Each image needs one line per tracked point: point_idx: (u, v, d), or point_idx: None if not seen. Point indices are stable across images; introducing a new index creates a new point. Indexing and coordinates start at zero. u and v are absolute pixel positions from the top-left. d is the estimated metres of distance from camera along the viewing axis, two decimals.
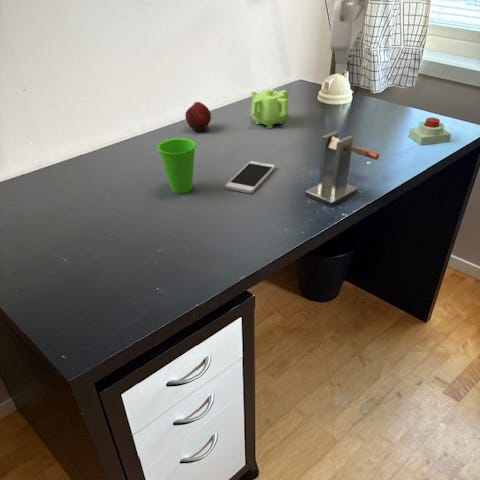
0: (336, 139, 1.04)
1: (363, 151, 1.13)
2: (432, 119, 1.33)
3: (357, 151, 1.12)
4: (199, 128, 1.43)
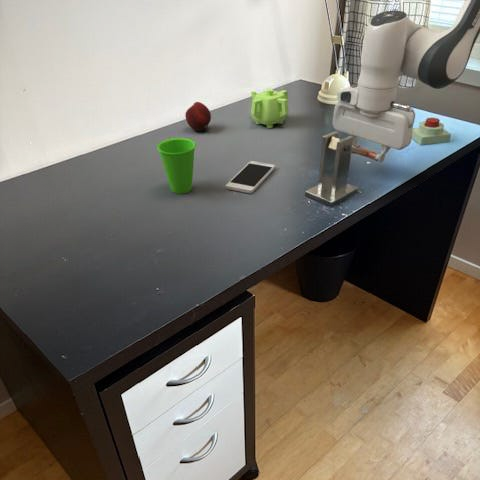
0: (336, 139, 1.04)
1: (363, 151, 1.13)
2: (432, 119, 1.33)
3: (357, 151, 1.12)
4: (199, 128, 1.43)
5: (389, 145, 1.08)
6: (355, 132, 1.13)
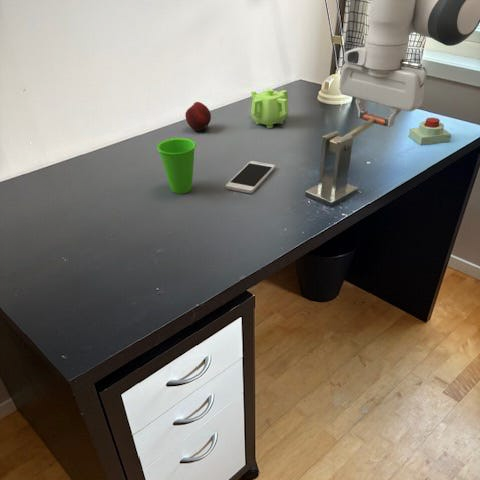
0: (334, 143, 1.04)
1: (369, 124, 1.10)
2: (432, 119, 1.33)
3: (362, 130, 1.09)
4: (199, 128, 1.43)
5: (399, 107, 1.04)
6: (363, 95, 1.09)
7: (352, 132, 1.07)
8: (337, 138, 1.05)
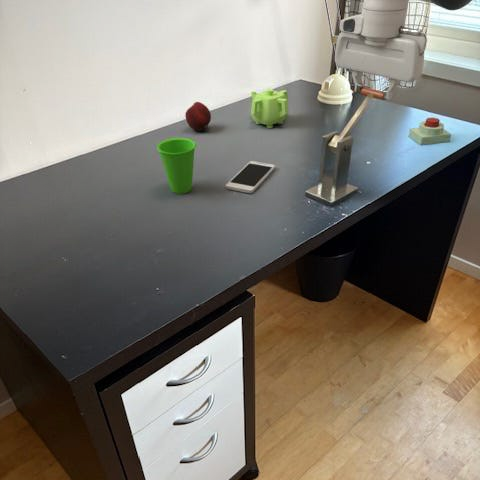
0: (333, 147, 1.05)
1: (367, 104, 1.05)
2: (432, 119, 1.33)
3: (361, 114, 1.06)
4: (199, 128, 1.43)
5: (398, 78, 0.98)
6: (360, 67, 1.03)
7: (350, 123, 1.05)
8: (335, 139, 1.05)
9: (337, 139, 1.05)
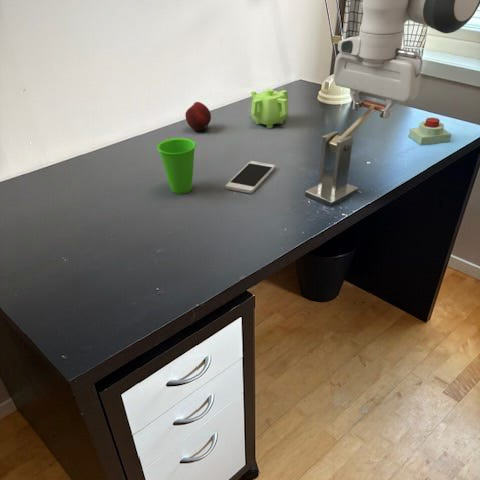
0: (333, 145, 1.04)
1: (369, 113, 1.08)
2: (432, 119, 1.33)
3: (362, 122, 1.07)
4: (199, 128, 1.43)
5: (394, 98, 1.01)
6: (358, 86, 1.06)
7: (352, 127, 1.06)
8: (336, 138, 1.05)
9: (338, 138, 1.05)
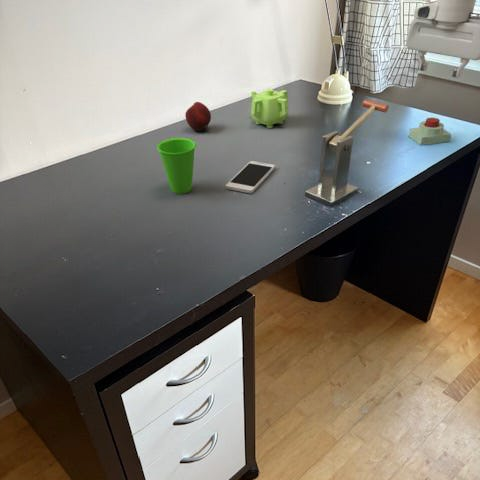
0: (333, 145, 1.04)
1: (369, 113, 1.08)
2: (432, 119, 1.33)
3: (362, 122, 1.07)
4: (199, 128, 1.43)
5: (465, 57, 1.15)
6: (430, 48, 1.20)
7: (352, 127, 1.06)
8: (336, 138, 1.05)
9: (338, 138, 1.05)
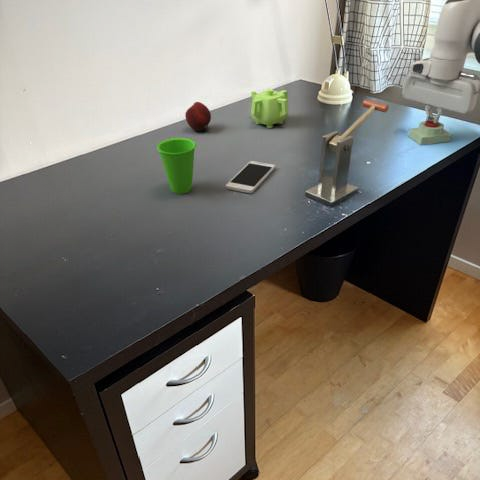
0: (333, 145, 1.04)
1: (369, 113, 1.08)
2: None
3: (362, 122, 1.07)
4: (199, 128, 1.43)
5: (455, 110, 1.26)
6: (423, 100, 1.31)
7: (352, 127, 1.06)
8: (336, 138, 1.05)
9: (338, 138, 1.05)
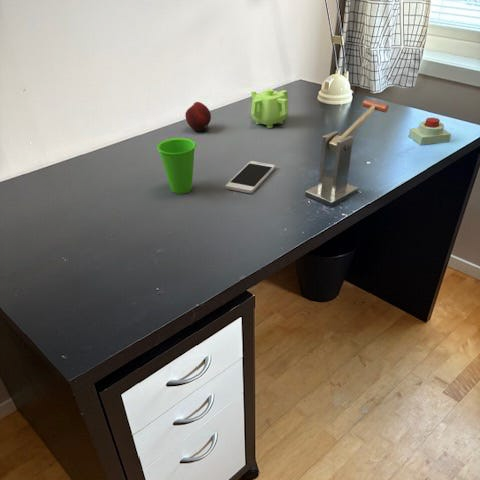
0: (333, 145, 1.04)
1: (369, 113, 1.08)
2: (432, 119, 1.33)
3: (362, 122, 1.07)
4: (199, 128, 1.43)
5: None
6: None
7: (352, 127, 1.06)
8: (336, 138, 1.05)
9: (338, 138, 1.05)
